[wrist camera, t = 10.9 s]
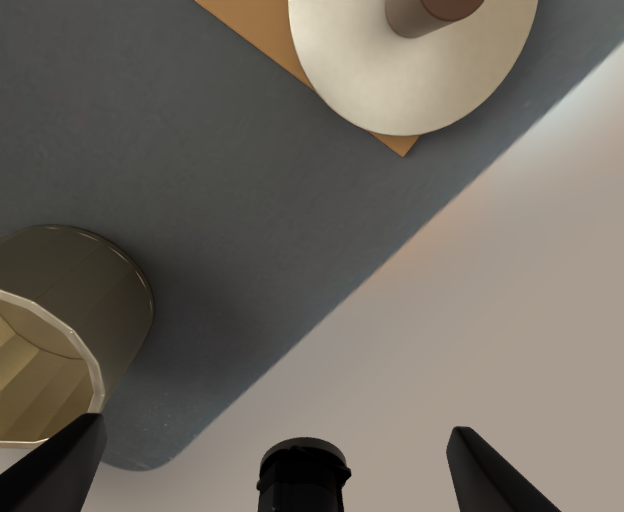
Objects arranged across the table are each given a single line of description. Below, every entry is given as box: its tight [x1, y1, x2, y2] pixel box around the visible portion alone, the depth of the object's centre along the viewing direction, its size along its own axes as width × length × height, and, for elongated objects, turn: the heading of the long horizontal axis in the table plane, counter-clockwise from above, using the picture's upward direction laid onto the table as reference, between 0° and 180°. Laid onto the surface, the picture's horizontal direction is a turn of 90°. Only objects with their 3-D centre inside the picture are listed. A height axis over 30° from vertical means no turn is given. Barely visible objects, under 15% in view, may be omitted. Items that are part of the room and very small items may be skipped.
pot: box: [0, 225, 154, 449], centre depth 19 cm, size 9×9×6 cm
